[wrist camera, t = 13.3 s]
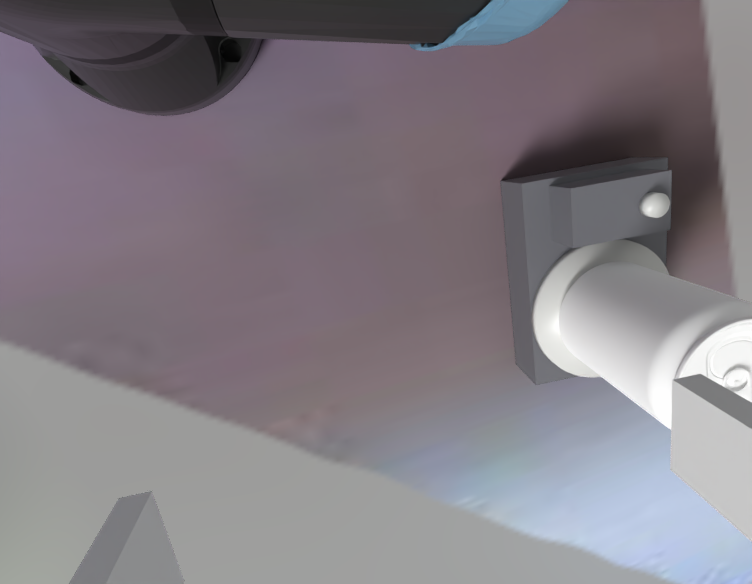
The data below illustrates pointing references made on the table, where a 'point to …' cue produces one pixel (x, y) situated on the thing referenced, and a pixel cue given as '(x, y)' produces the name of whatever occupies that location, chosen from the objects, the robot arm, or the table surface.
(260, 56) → the table surface
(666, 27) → the table surface
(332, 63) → the table surface
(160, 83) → the robot arm
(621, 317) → the beverage can
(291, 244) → the table surface
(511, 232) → the grey hot plate stirrer
